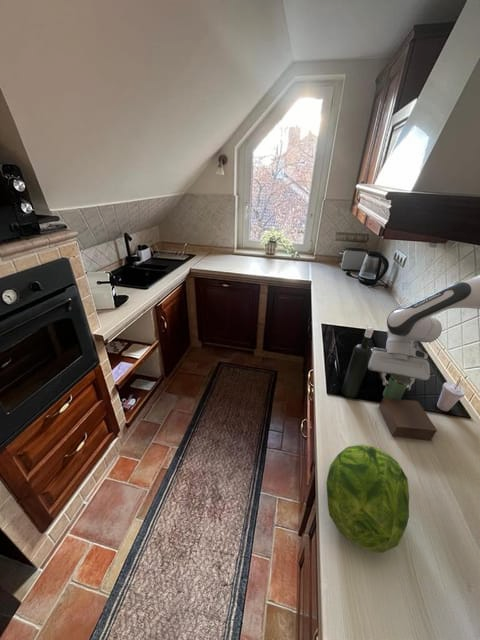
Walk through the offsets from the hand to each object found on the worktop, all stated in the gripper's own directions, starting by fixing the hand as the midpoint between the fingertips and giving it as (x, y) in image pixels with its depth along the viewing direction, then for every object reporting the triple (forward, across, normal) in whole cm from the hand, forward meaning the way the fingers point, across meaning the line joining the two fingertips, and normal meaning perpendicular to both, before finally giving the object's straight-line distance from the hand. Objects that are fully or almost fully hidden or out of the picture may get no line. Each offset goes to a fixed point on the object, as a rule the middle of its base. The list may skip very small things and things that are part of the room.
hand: (396, 387), depth 94 cm
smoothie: (+4, +17, +4) cm, 18 cm away
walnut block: (+12, +1, -4) cm, 13 cm away
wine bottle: (+5, -16, +2) cm, 17 cm away
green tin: (+3, 0, +4) cm, 5 cm away
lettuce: (+34, -17, -26) cm, 45 cm away
